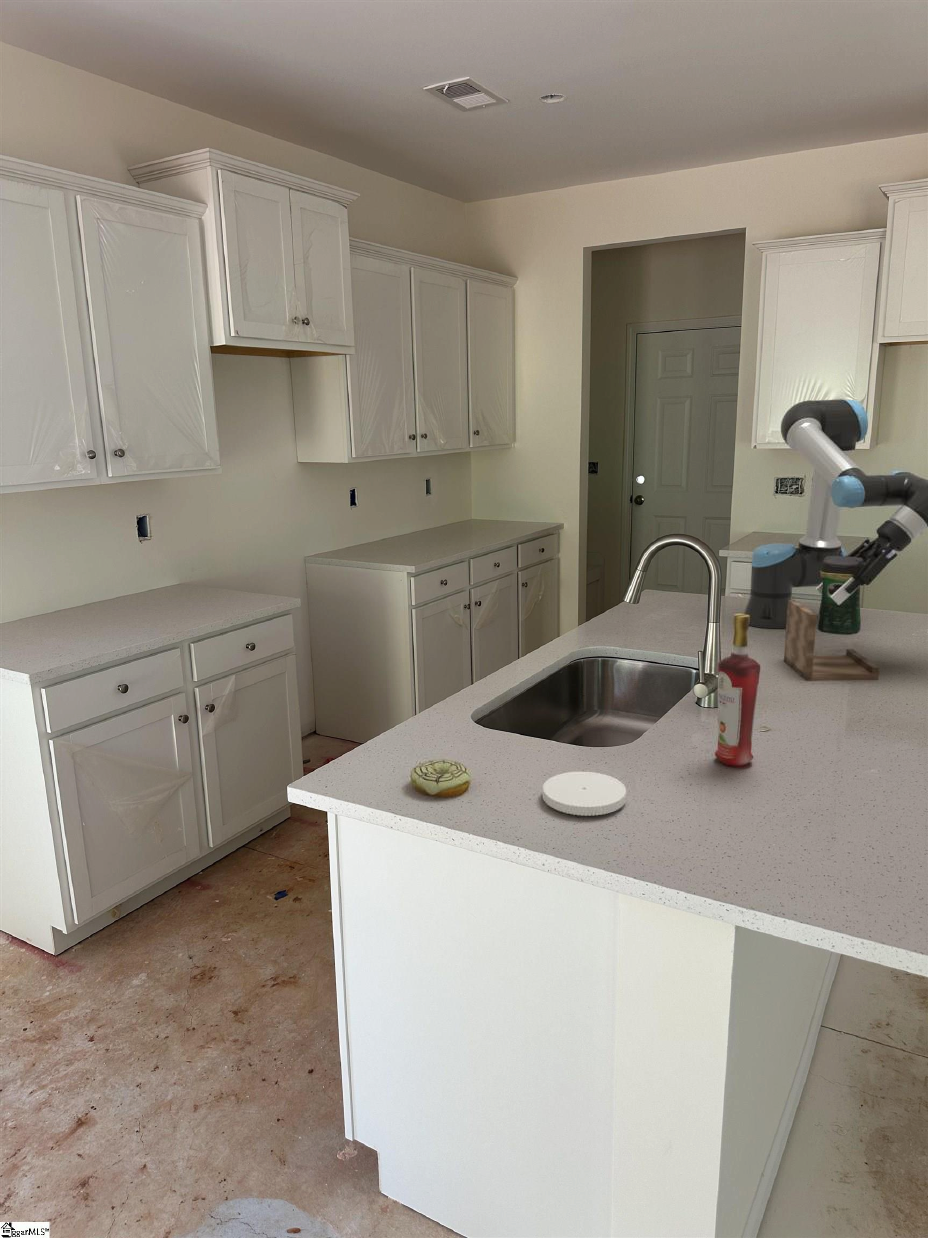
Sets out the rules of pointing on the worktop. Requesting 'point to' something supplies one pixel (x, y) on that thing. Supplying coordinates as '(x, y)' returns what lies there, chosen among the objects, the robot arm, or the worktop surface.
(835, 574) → the coffee jar
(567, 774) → the plastic lid
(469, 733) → the worktop surface
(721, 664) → the liquor
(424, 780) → the decorated donut
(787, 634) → the wooden board stand
